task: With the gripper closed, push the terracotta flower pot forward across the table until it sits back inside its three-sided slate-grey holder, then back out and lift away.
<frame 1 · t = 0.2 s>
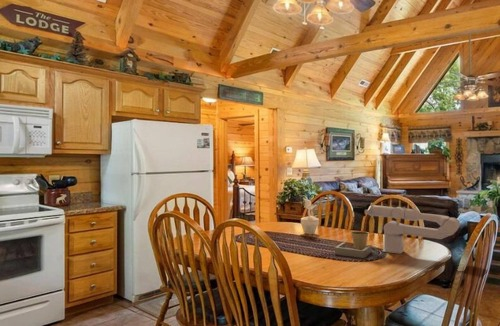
hand: (355, 208, 211), 21 cm above the table, tool horizontal, fingers open, 7 cm apart
potted plant: (310, 233, 247), on the table
flower pot: (359, 248, 206), on the table
pot holder: (353, 252, 197), on the table
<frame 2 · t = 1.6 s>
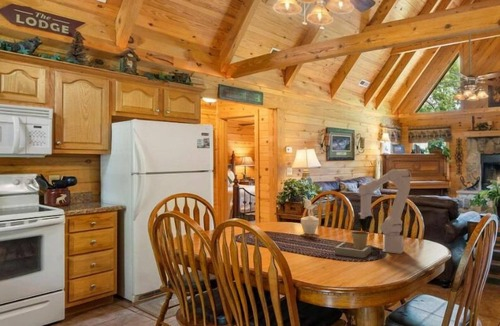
hand: (365, 229, 216), 8 cm above the table, tool pointing down, fingers open, 7 cm apart
nothing on the table moved.
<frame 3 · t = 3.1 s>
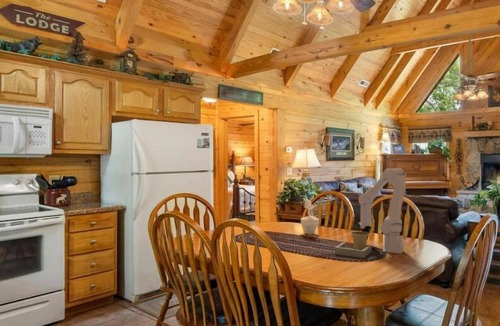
hand: (365, 239, 216), 3 cm above the table, tool pointing down, fingers closed
nothing on the table moved.
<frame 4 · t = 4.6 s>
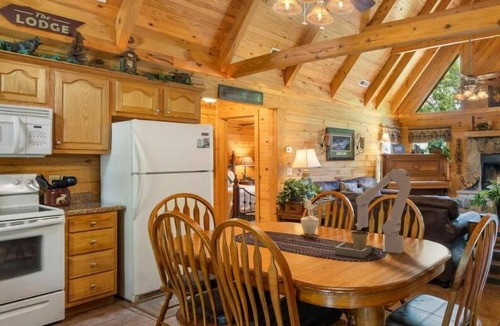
hand: (362, 240, 211), 3 cm above the table, tool pointing down, fingers closed
flower pot: (359, 248, 206), on the table, touching gripper
everything else where it was.
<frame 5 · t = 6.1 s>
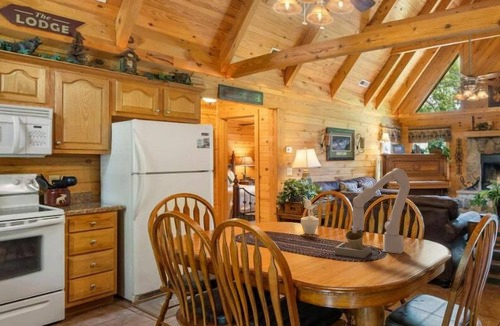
hand: (358, 244, 204), 3 cm above the table, tool pointing down, fingers closed, pressing on flower pot
flower pot: (356, 248, 202), point 1 cm above the table, touching gripper
everything else where it was.
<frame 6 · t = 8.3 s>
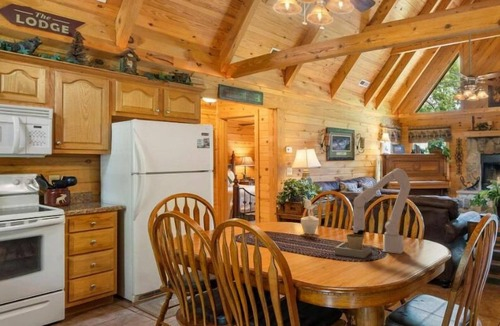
hand: (359, 243, 205), 3 cm above the table, tool pointing down, fingers closed
flower pot: (355, 252, 199), on the table
everything else where it was.
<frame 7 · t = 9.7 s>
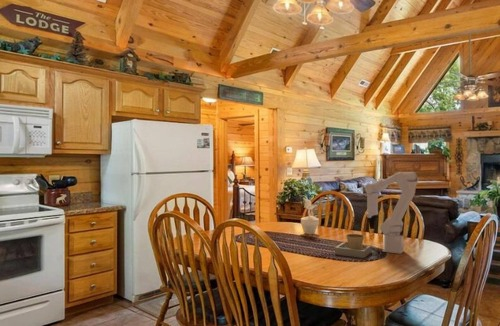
hand: (372, 228, 213), 9 cm above the table, tool pointing down, fingers closed
nothing on the table moved.
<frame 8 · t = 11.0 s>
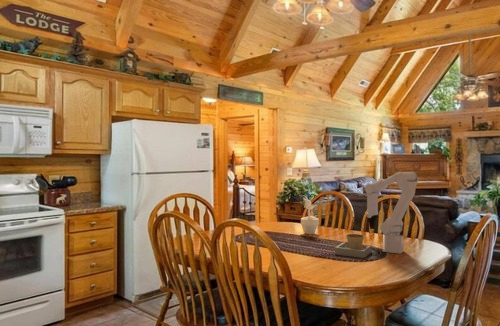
hand: (372, 228, 213), 9 cm above the table, tool pointing down, fingers closed
nothing on the table moved.
at the end: flower pot 2.7 cm off-centre on the pot holder, point 0.0 cm above the pot holder's base; flower pot tilted 0°; the gripper is holding nothing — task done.
